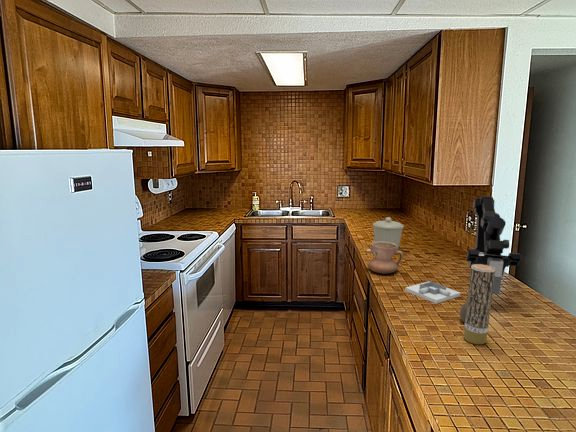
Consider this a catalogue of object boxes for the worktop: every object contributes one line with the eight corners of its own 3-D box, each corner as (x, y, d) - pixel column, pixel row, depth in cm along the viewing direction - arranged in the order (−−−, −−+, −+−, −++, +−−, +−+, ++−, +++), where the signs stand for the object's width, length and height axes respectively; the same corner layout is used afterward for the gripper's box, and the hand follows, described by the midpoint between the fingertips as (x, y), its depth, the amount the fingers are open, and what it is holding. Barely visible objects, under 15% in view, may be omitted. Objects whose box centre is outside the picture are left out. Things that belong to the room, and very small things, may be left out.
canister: (405, 256, 221) (408, 220, 217) (374, 255, 221) (376, 219, 217) (397, 247, 238) (399, 214, 235) (368, 247, 239) (370, 214, 235)
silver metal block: (484, 288, 152) (487, 257, 150) (497, 290, 151) (501, 258, 148) (486, 292, 148) (489, 260, 145) (499, 294, 146) (503, 262, 144)
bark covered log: (466, 333, 130) (474, 262, 125) (488, 339, 125) (497, 267, 121) (460, 340, 124) (468, 267, 120) (483, 347, 120) (492, 272, 116)
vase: (468, 328, 133) (470, 304, 132) (454, 319, 140) (457, 297, 138) (484, 326, 135) (487, 302, 133) (470, 317, 142) (472, 295, 140)
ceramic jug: (366, 275, 187) (367, 247, 184) (364, 266, 201) (366, 239, 198) (403, 277, 184) (406, 249, 182) (399, 268, 198) (401, 241, 196)
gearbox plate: (428, 284, 175) (429, 277, 175) (460, 296, 162) (461, 288, 161) (405, 290, 167) (405, 283, 166) (436, 303, 154) (436, 295, 153)
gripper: (470, 229, 151) (471, 263, 143) (523, 233, 146) (527, 269, 137) (466, 243, 160) (466, 277, 152) (516, 248, 154) (519, 283, 146)
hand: (494, 276), depth 147 cm, fingers closed on silver metal block, 5 cm apart
